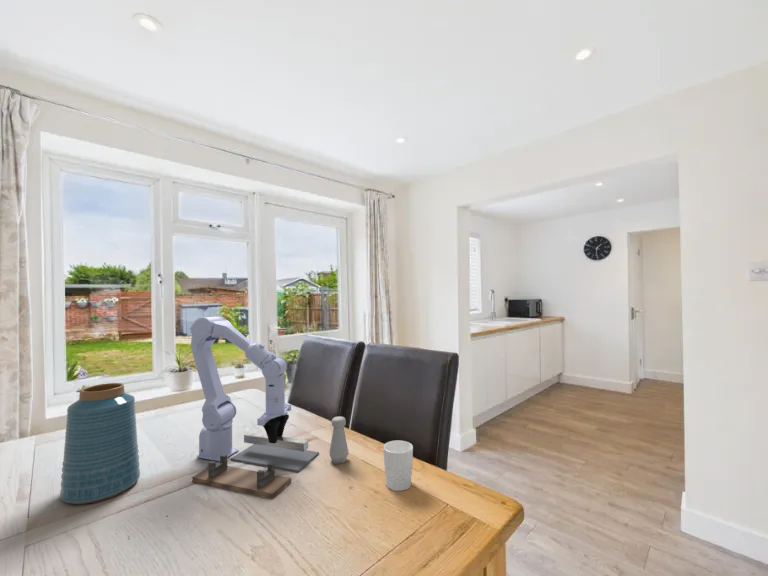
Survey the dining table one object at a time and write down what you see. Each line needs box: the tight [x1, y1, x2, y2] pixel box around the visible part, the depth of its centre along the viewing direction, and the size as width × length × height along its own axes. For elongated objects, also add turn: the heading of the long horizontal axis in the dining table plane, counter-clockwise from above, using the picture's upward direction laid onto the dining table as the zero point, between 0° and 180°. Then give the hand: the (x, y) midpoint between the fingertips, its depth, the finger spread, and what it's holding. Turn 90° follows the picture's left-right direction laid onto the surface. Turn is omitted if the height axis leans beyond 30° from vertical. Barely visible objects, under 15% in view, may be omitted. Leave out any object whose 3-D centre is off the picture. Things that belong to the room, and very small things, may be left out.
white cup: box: [383, 439, 414, 492], centre depth 93 cm, size 8×8×10 cm
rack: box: [191, 454, 292, 499], centre depth 95 cm, size 26×8×5 cm, turn 71°
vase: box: [59, 382, 141, 505], centre depth 92 cm, size 16×16×27 cm
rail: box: [243, 431, 309, 452], centre depth 109 cm, size 22×2×2 cm, turn 71°
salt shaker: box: [328, 415, 349, 465], centre depth 106 cm, size 6×6×13 cm
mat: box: [230, 444, 320, 473], centre depth 109 cm, size 24×12×1 cm, turn 71°
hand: (275, 440), depth 109 cm, fingers closed on rail, 2 cm apart
